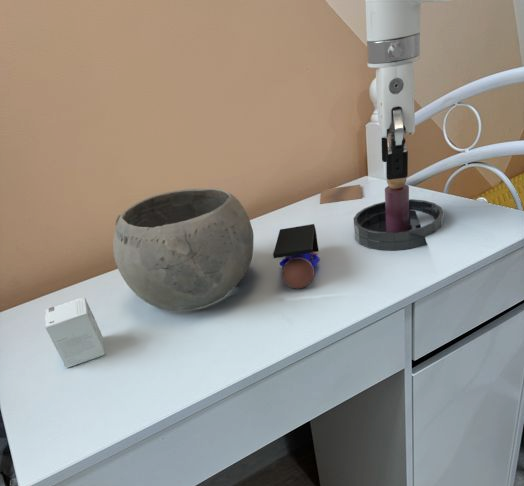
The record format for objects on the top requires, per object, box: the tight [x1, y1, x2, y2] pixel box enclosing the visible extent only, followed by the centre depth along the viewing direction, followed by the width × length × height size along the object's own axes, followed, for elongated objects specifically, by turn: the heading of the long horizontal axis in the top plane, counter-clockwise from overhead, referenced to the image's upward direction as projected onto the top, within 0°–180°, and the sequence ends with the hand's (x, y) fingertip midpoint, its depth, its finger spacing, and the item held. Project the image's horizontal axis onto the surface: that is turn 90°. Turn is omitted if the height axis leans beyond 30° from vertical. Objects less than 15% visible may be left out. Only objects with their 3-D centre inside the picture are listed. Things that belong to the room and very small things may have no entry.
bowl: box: [112, 187, 255, 311], centre depth 82 cm, size 23×23×15 cm
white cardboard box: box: [44, 296, 106, 369], centre depth 73 cm, size 6×6×7 cm
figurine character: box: [272, 223, 320, 290], centre depth 82 cm, size 7×8×15 cm
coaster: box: [319, 184, 363, 205], centre depth 110 cm, size 9×9×1 cm
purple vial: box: [384, 177, 410, 232], centre depth 86 cm, size 4×4×11 cm
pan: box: [353, 198, 445, 251], centre depth 88 cm, size 15×15×4 cm
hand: (394, 169), depth 83 cm, fingers open, 9 cm apart
